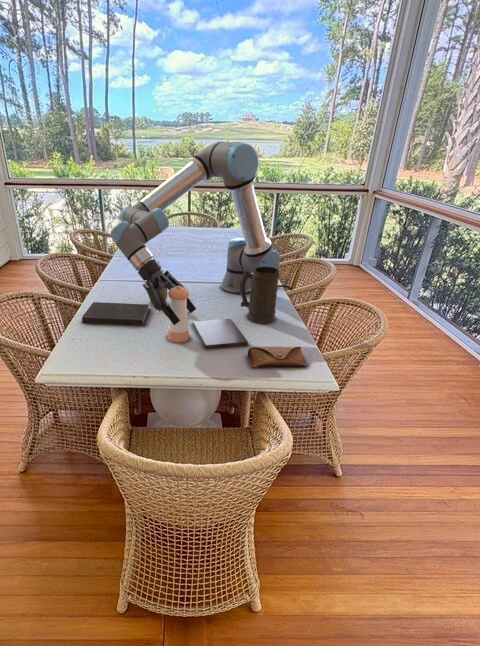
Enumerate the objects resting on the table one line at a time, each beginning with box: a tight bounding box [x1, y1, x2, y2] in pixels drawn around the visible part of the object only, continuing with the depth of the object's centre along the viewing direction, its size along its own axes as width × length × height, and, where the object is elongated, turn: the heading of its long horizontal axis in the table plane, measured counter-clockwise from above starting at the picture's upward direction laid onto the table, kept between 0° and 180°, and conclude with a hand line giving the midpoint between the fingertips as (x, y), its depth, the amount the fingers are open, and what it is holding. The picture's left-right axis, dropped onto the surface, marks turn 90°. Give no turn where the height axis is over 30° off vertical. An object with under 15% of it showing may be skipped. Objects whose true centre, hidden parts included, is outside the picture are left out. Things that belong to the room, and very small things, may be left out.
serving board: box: [192, 318, 249, 350], centre depth 143 cm, size 15×20×2 cm
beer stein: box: [240, 267, 281, 324], centre depth 153 cm, size 15×11×20 cm
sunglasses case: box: [247, 346, 307, 369], centre depth 127 cm, size 18×7×7 cm, turn 96°
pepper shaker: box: [167, 286, 190, 343], centre depth 135 cm, size 7×7×19 cm
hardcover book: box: [81, 301, 150, 326], centre depth 155 cm, size 16×23×2 cm
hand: (185, 316), depth 135 cm, fingers open, 11 cm apart
